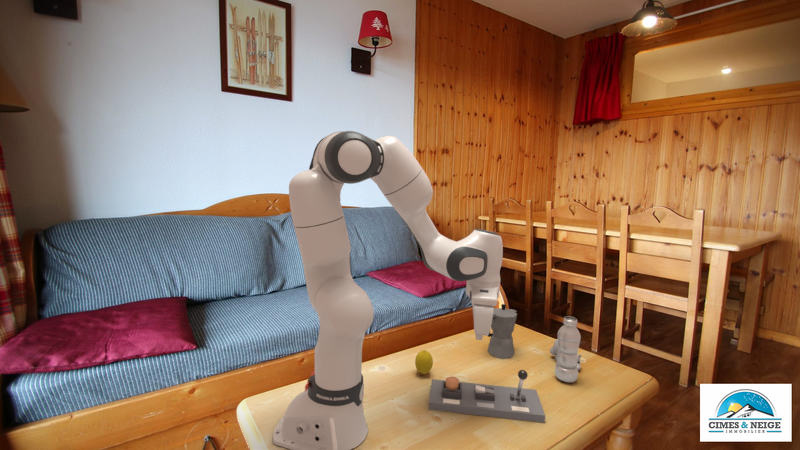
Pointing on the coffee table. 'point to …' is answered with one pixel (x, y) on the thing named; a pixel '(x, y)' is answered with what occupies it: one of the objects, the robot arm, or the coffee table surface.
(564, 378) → the plastic bottle
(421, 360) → the lemon
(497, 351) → the coffeepot
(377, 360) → the coffee table surface
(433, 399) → the control panel
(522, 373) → the toggle lever
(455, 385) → the push button
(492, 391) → the rocker switch
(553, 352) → the round bodied animal figurine
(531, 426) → the coffee table surface
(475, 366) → the coffee table surface
